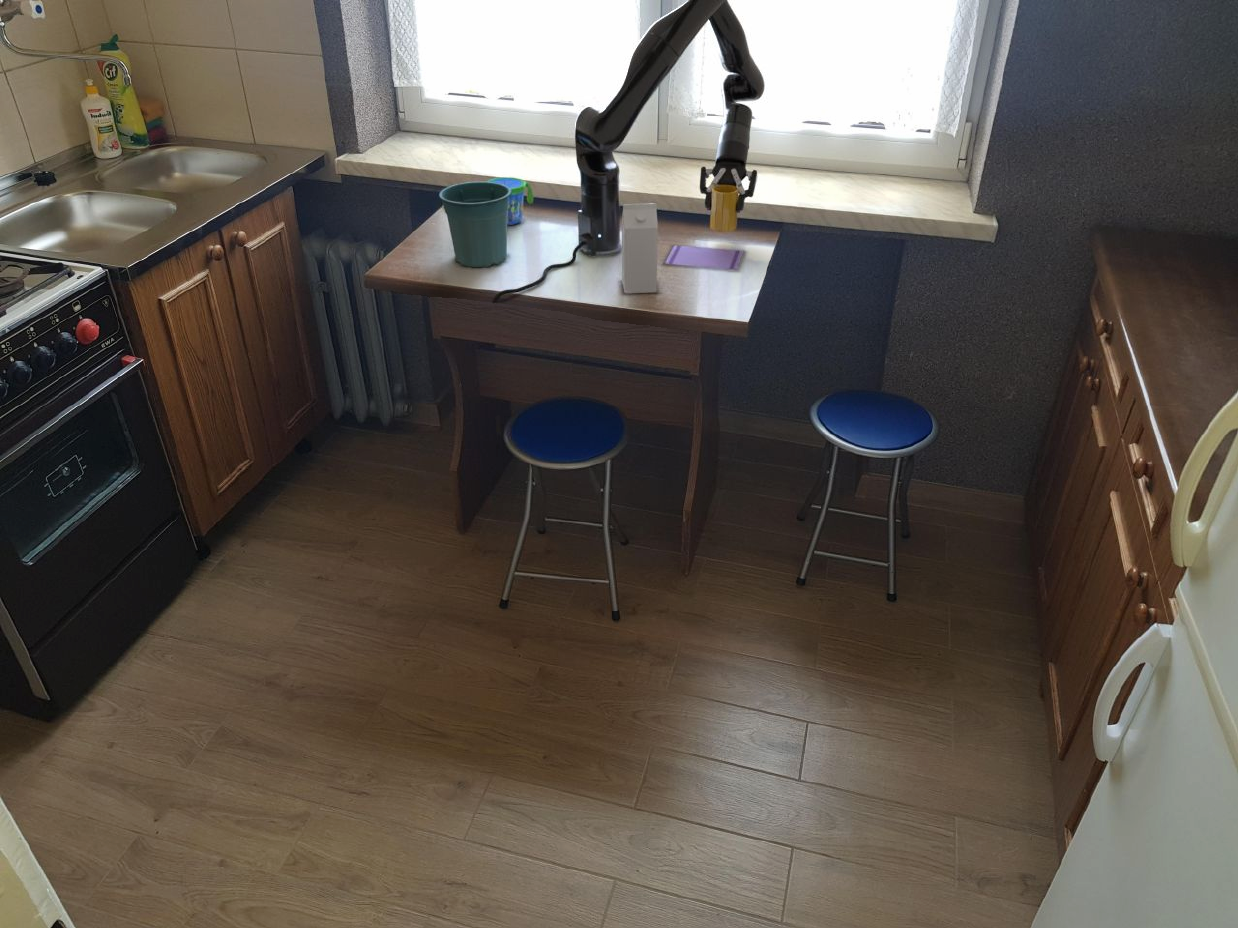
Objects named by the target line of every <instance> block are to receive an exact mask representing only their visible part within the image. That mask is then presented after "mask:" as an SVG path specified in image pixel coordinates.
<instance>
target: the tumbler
mask: <svg viewBox="0 0 1238 928" xmlns="http://www.w3.org/2000/svg"><path fill="white" fill-rule="evenodd" d="M738 197H739V189H738V187H736V186H733V185H717V186H714V187H712V188H711V210H709V213H710V214H709V228H710V230H712V231H715V232H720V233H727V232H728V233H729V232H733V231H735V230H736V229H737V225H738V213H737V203H738Z"/></svg>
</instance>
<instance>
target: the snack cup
mask: <svg viewBox="0 0 1238 928" xmlns="http://www.w3.org/2000/svg"><path fill="white" fill-rule="evenodd" d="M485 182H495V183H500V184H504V185H506V186H508V187H509V188H510V189H511V193H510V195H509V208H508V210H507V227H508V226H513V225H517V224H518V223H519V224H520V223H521V222H522V219H523V213H524V211H523V210H524V200H525V199H524V196H525V192H526V189H527V193H526V202H527V203H528V204H529V205H531V204H533V203H534V193H533V189H532V186H531V185H530V184H529V183H528V182H526V181H525V180H523V179H522V178H519V177H513V176H512V177H511V176H507V177H506V176H505V177H503V176H502V177H495V178H491V179H488V180H487V181H485Z"/></svg>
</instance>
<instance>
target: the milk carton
mask: <svg viewBox="0 0 1238 928" xmlns="http://www.w3.org/2000/svg"><path fill="white" fill-rule="evenodd" d="M657 211H658V210H657V202H652V203H650V202H648V203H623V204H622V213H621V282H622V287H623V291H624V294H649V293H657V290H658V289H657V288H658V286H657V285H658V244H659V243H658V242H659V239H658V237H659V223H658V213H657Z"/></svg>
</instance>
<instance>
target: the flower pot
mask: <svg viewBox="0 0 1238 928" xmlns="http://www.w3.org/2000/svg"><path fill="white" fill-rule="evenodd" d="M510 193H511V189H510V188H509V187H508V186H506V185H504V184H500V183H495V182H486V181H466V182H460V183H456V184H452V185H450V186H449V185H448V186H447V187H445V188H443V189H442V190H441V191H439V193H438V197H439V199H440V200H441V201H442V207H443V209H444V213H445V215H446V217H447V218H446V219H447V223H448V227H449V233H450V237H451V242H452V245H453V246H452V247H453V252H454V256H455V261H456V262H457V263H460V265H462V266H465V267H469V268H470V267H471V268H484V267H490V266H491V265H493V264H495V265H498V264H500V263H503V262H504V261H505V260H506V259H507V256H508V225H507V210H508V208H509V195H510Z"/></svg>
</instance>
